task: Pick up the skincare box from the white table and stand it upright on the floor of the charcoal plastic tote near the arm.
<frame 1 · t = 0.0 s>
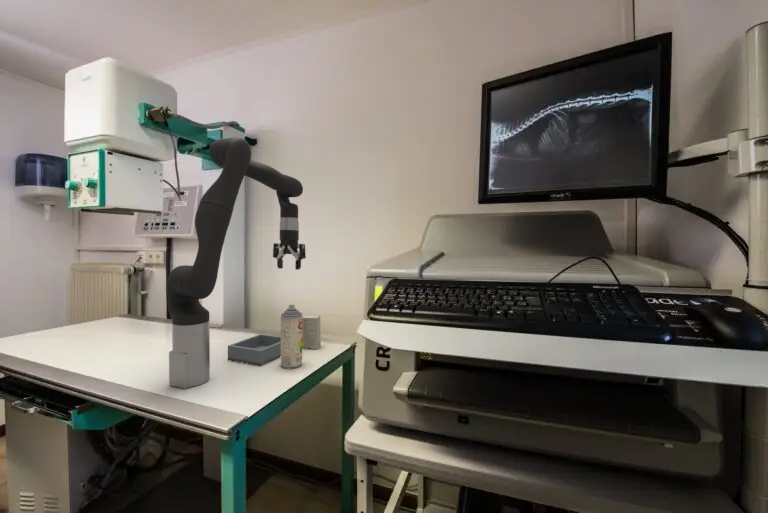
hand: (289, 268, 137), 29 cm above the table, tool pointing down, fingers open, 8 cm apart
aerosol can: (291, 365, 110), on the table
tote: (260, 355, 119), on the table
skincare box: (311, 348, 129), on the table
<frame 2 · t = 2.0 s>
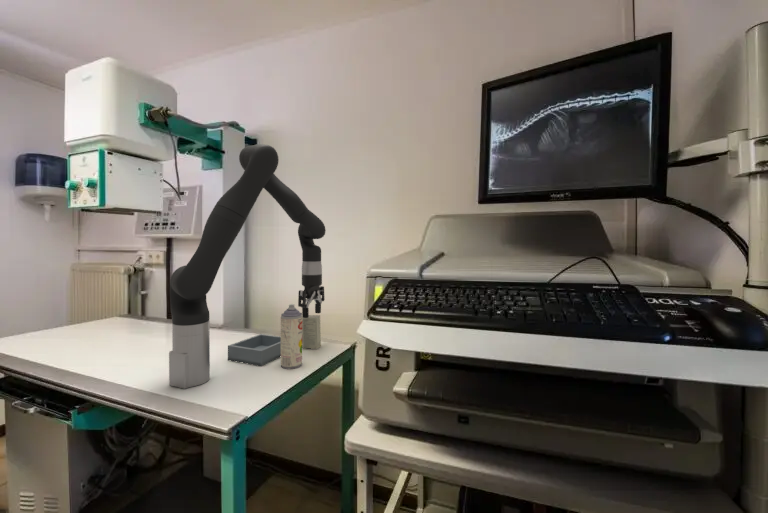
hand: (312, 315, 128), 12 cm above the table, tool pointing down, fingers open, 8 cm apart
nothing on the table moved.
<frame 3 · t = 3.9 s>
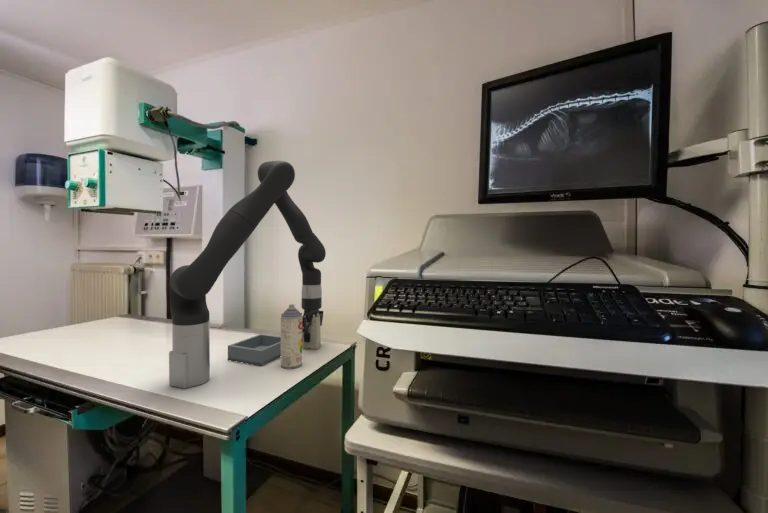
hand: (311, 339, 129), 3 cm above the table, tool pointing down, fingers closed on skincare box, 5 cm apart
skincare box: (311, 348, 129), on the table, touching gripper
everything else where it was.
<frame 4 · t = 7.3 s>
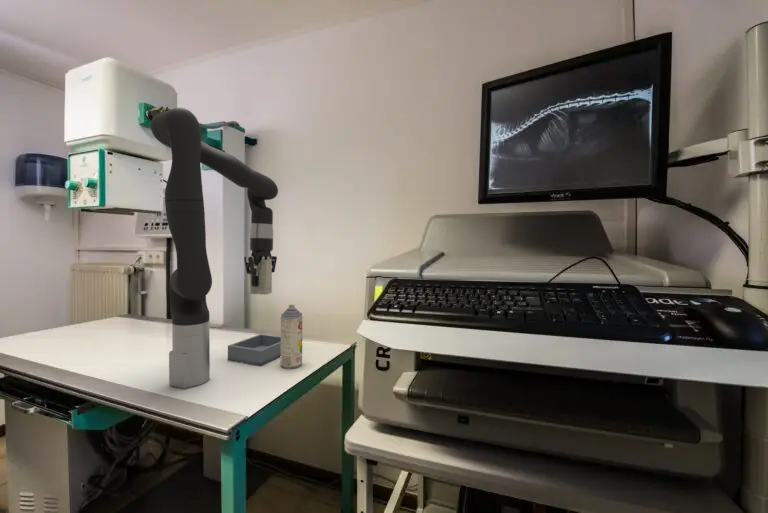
hand: (260, 285, 117), 25 cm above the table, tool pointing down, fingers closed on skincare box, 5 cm apart
skincare box: (260, 294, 117), point 22 cm above the table, touching gripper
everything else where it was.
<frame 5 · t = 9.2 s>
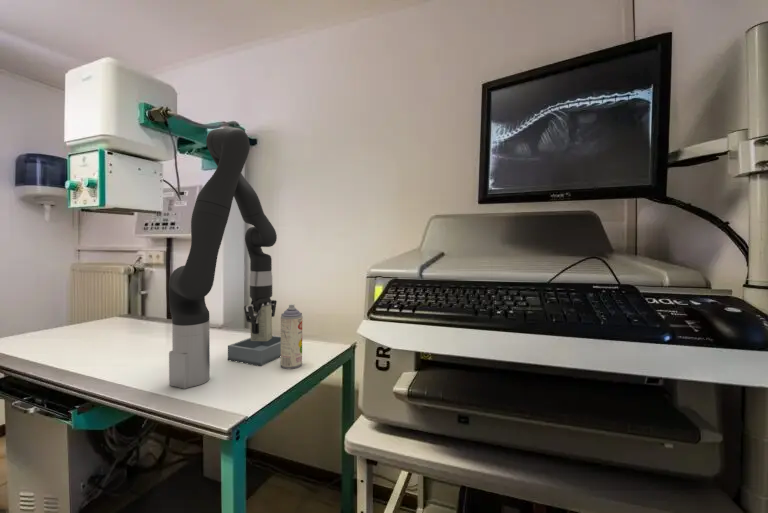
hand: (261, 331, 118), 9 cm above the table, tool pointing down, fingers closed on skincare box, 5 cm apart
skincare box: (261, 340, 118), point 6 cm above the table, touching gripper
everything else where it was.
when the fingers open (5 cm above the table, at t = 10.6 s): skincare box drops 1 cm, resting on tote.
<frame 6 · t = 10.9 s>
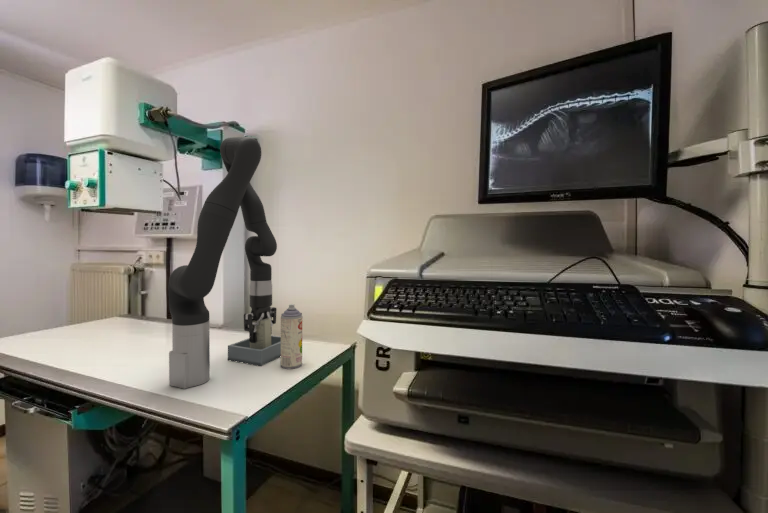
hand: (260, 339, 118), 6 cm above the table, tool pointing down, fingers open, 7 cm apart
skincare box: (260, 353, 118), point 1 cm above the table, touching tote
everything else where it was.
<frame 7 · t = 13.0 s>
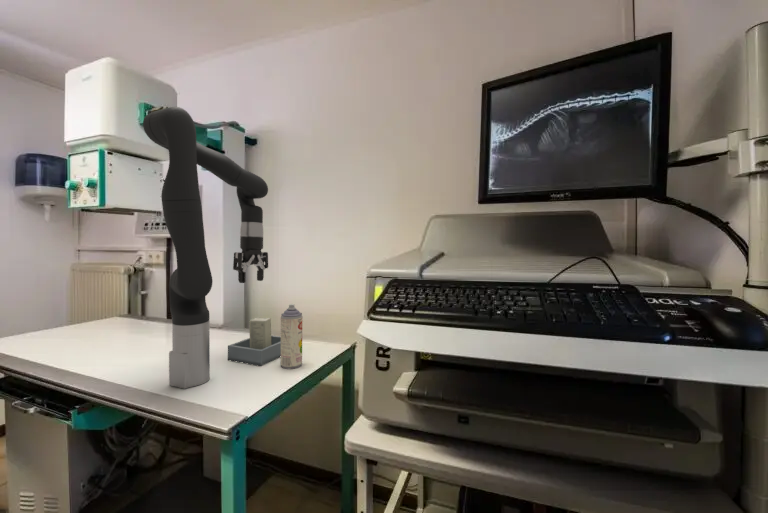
hand: (251, 281, 118), 26 cm above the table, tool pointing down, fingers open, 8 cm apart
nothing on the table moved.
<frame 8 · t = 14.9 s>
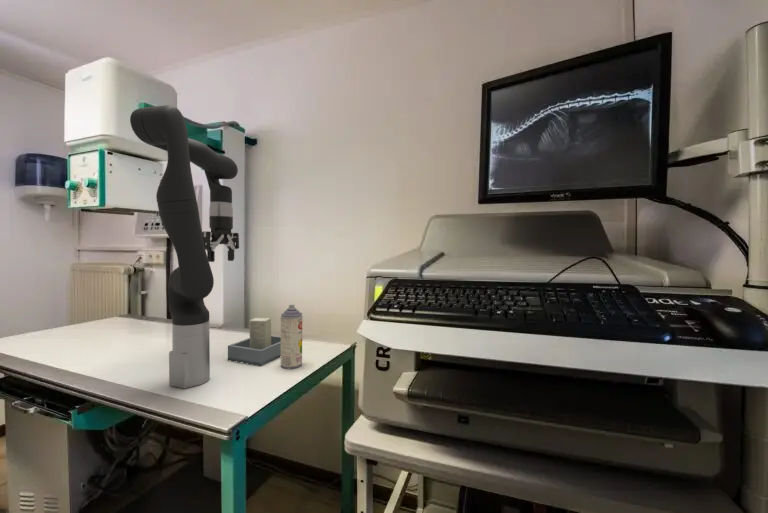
hand: (221, 261, 120), 33 cm above the table, tool pointing down, fingers open, 8 cm apart
nothing on the table moved.
at the end: skincare box inside the target area on the tote (0.3 cm from its centre), point 0.8 cm above the tote's base; skincare box tilted 0°; the gripper is holding nothing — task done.
